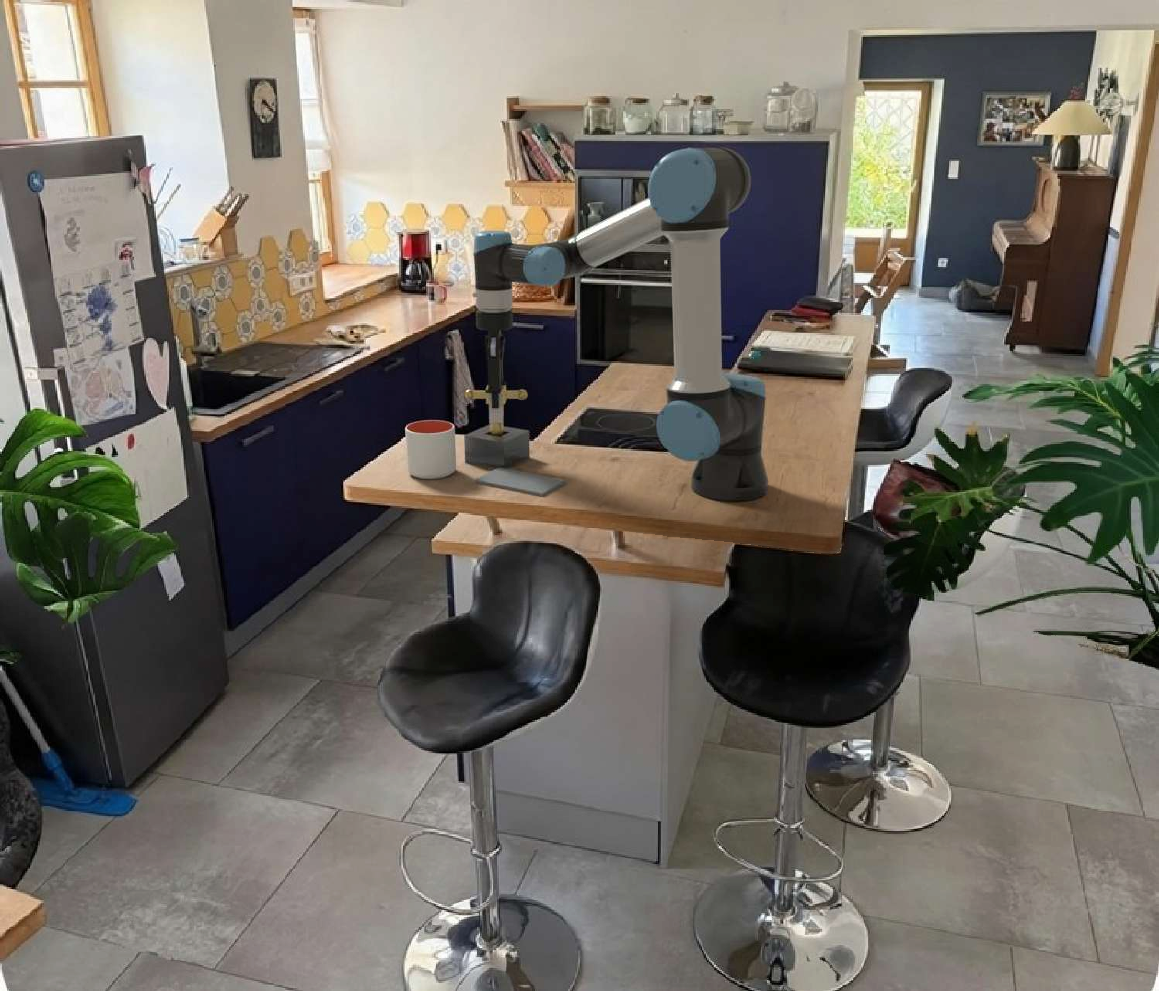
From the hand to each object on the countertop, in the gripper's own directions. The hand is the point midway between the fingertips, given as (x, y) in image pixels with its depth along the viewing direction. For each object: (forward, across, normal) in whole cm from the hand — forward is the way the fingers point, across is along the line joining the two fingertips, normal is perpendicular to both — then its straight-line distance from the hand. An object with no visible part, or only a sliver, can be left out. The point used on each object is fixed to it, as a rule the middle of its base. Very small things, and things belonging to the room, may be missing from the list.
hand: (496, 419), depth 217 cm
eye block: (+9, 0, 0) cm, 9 cm away
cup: (+9, +9, -13) cm, 18 cm away
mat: (+9, +15, +5) cm, 18 cm away
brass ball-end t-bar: (+9, 0, 0) cm, 9 cm away
